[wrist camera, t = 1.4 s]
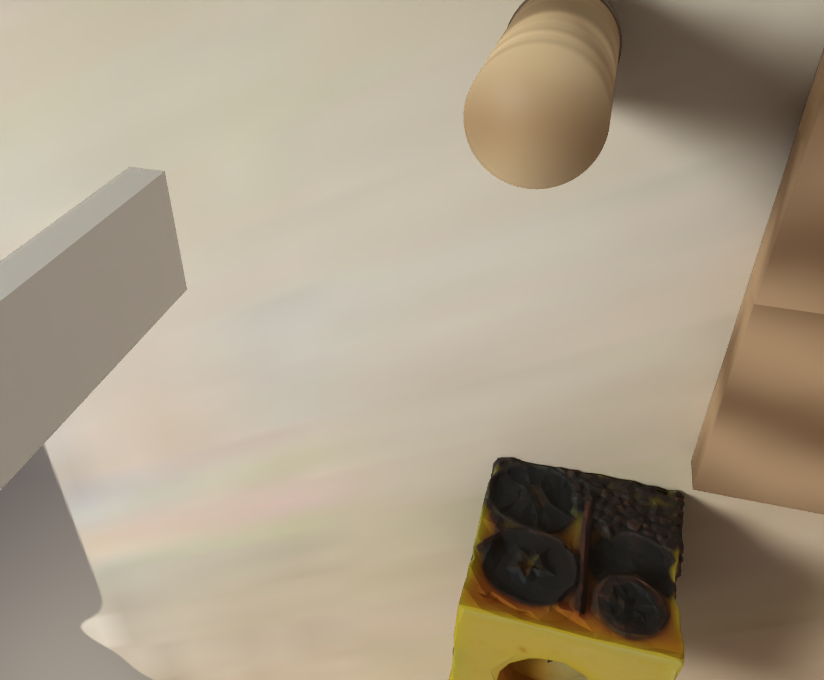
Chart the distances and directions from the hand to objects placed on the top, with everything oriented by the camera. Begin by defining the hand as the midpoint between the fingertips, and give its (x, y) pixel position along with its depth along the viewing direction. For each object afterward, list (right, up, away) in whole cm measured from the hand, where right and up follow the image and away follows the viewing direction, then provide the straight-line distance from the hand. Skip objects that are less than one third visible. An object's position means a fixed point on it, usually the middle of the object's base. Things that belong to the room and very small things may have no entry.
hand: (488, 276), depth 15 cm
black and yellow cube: (+8, -12, +30) cm, 33 cm away
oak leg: (+4, +10, +15) cm, 19 cm away
